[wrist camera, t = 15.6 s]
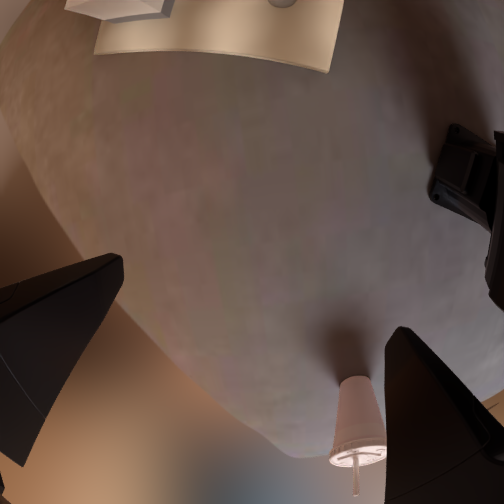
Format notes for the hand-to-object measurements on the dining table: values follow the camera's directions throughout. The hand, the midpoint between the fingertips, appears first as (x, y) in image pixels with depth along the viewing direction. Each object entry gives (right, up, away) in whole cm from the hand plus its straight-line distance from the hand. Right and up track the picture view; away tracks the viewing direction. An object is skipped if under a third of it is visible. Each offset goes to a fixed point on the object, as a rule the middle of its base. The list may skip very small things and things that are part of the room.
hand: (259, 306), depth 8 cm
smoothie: (+12, -14, +20) cm, 27 cm away
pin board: (-3, +20, +5) cm, 21 cm away
